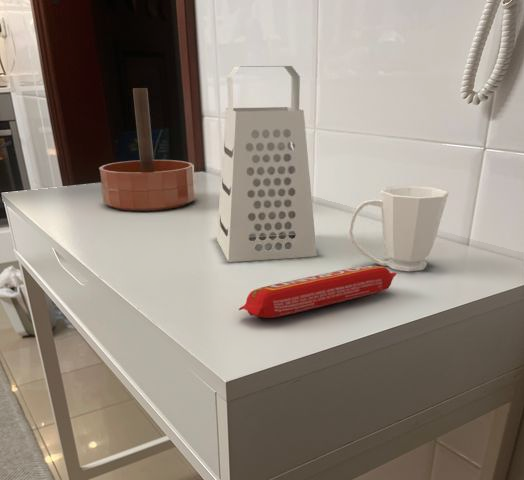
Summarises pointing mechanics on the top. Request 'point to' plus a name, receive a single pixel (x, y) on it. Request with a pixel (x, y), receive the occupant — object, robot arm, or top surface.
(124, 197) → the bowl
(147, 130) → the wooden pestle
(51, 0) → the robot arm
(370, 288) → the candy bar
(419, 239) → the cup
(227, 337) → the top surface
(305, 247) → the grater
